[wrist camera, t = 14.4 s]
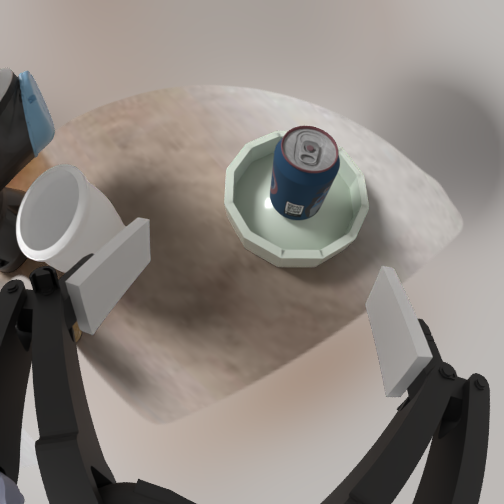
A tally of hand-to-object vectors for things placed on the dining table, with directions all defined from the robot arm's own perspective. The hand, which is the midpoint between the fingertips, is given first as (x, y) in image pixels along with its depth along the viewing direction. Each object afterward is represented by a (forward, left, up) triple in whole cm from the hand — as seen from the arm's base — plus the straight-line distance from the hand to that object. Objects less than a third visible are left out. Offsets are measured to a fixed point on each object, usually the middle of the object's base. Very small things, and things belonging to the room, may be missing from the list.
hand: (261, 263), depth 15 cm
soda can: (-2, +14, -20) cm, 24 cm away
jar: (-21, -5, -21) cm, 30 cm away
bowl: (-2, +14, -20) cm, 25 cm away
